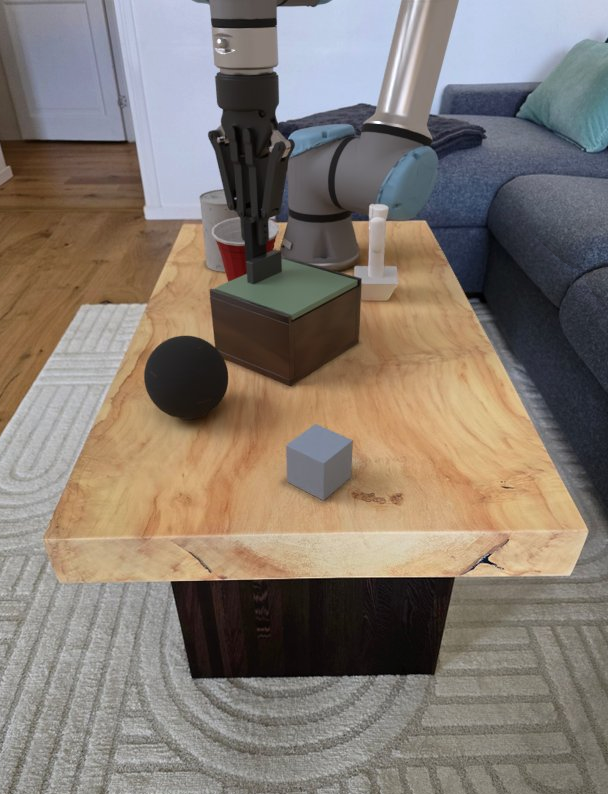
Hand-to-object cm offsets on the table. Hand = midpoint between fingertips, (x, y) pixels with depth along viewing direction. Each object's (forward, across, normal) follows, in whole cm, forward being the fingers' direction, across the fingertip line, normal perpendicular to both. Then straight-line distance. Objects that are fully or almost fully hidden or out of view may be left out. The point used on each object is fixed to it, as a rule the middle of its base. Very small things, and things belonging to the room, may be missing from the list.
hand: (256, 265), depth 89 cm
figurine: (+11, +4, +24) cm, 27 cm away
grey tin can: (+12, -26, +20) cm, 35 cm away
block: (+12, +28, -21) cm, 36 cm away
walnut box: (+11, +5, 0) cm, 13 cm away
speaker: (+12, +7, -20) cm, 24 cm away
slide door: (+2, +5, 0) cm, 6 cm away
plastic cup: (+12, -12, +10) cm, 19 cm away
